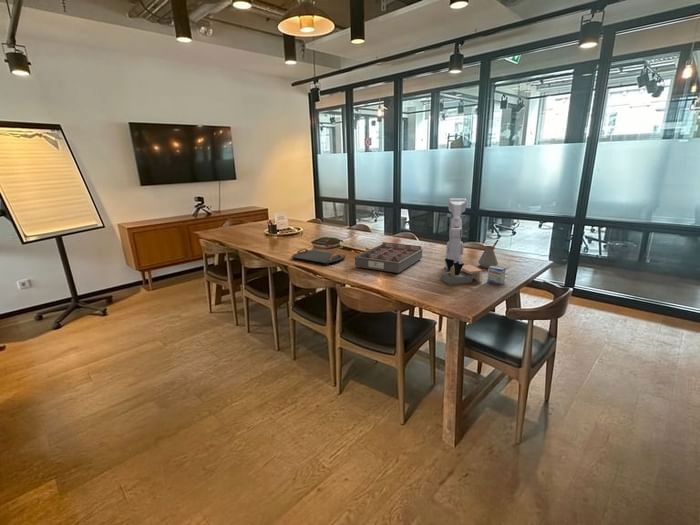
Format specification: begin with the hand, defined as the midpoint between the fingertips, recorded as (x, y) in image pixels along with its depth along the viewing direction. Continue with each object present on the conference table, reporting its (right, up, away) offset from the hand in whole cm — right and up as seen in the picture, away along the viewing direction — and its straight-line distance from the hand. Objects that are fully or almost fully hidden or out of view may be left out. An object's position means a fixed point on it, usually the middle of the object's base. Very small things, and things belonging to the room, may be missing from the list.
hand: (453, 273), depth 197 cm
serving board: (-80, +8, +55) cm, 98 cm away
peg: (0, -5, +1) cm, 5 cm away
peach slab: (+10, -4, +4) cm, 11 cm away
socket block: (+2, -4, +2) cm, 5 cm away
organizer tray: (-31, +5, +39) cm, 50 cm away
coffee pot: (+33, +4, +30) cm, 45 cm away
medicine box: (+23, -5, -2) cm, 23 cm away
